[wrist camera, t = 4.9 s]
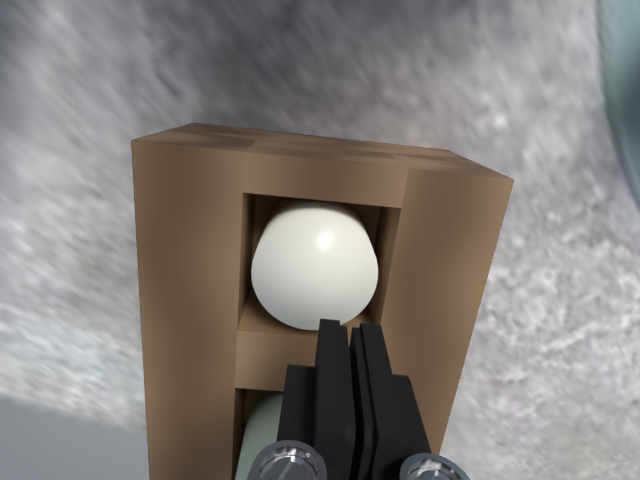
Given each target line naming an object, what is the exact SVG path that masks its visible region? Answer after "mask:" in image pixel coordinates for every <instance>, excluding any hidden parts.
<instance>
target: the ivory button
mask: <svg viewBox="0 0 640 480" xmlns="http://www.w3.org/2000/svg"><path fill="white" fill-rule="evenodd" d="M251 275H252V283H253V287H254V290H255V293H256V295H257V297H258V299H259V301H260V302H261V304H262V305H263V307H264V308H265V309H266V310H267V311H268V312H269V313H270V314H271V315H272V316H274V317H275V318H276V319H278V320H279V321H281V322H283V323H285V324H287V325H290V326H292V327H296V328H300V329H305V330H319V323H320V318H321V319H331V320H340V325H342V324H344V323H346V322H348V321H350V320H351V319H353V318H354V317H356V316H357V315H358V314H359V313H360V312H361V311H362V310H363V309H364V308H365V307H366V306H367V304H368V303H369V301H370V300H371V298H372V296H373V294H374V291H375V289H376V285H377V281H378V265H377V259H376V256H375V253H374V251H373V248H372V245H371V243H370V240H369V237H368V235H367V232H366V229H365V227H364V224H363V221H362V219H361V217H360V215H359V214H358V212H357V211H356V209H355V208H354V207H353V206H352V205H351V204H350V203H344V202H334V201H324V200H314V199H304V198H294V197H287V198H286V199H284V200H283V201H281V202H280V203H279V204H278V205H277V206H276V207H275V208H274V210H273V211H272V212H271V214H270V215H269V217H268V219H267V221H266V224H265V227H264V229H263V232H262V235H261V238H260V241H259V244H258V246H257V249H256V252H255V255H254V258H253V262H252V269H251Z"/></svg>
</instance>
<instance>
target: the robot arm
mask: <svg viewBox="0 0 640 480" xmlns="http://www.w3.org/2000/svg"><path fill="white" fill-rule="evenodd" d="M246 480H470V479H469V477H468V476H467V475H466V473H465V472H464V471H463V470H462V469H461V468H460V467H458V466H457V465H456V464H455V463H453V462H452V461H450V460H448V459H447V458H445V457H442V456H439V455H436V454H432V452H431V449H430V446H429V442H428V439H427V435H426V432H425V429H424V425H423V422H422V418H421V415H420V411H419V408H418V405H417V401H416V398H415V394H414V391H413V388H412V384H411V381H410V379H409V377H408V376H407V375H397V374H392V369H391V365H390V361H389V357H388V352H387V348H386V344H385V340H384V335H383V331H382V327H381V325H380V324H371V323H360V326H359V328H358V327H353V328H352V332H351V338H350V345H349V343H348V331H347V326H340V320H331V319H321V318H320V323H319V331H318V339H317V347H316V356H315V364H314V366H306V365H295V364H288V365H287V372H286V379H285V385H284V392H283V399H282V406H281V413H280V419H279V426H278V433H277V440H276V442H274V443H272V444H270V445H268V446H266V447H265V448H264V449H263V450H261V451H260V452H259V453H258V455H257V456H256V458H255V460H254V461H253V464H252V466H251V469H250V472H249V474H248V477H247V479H246Z"/></svg>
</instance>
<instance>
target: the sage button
mask: <svg viewBox="0 0 640 480" xmlns="http://www.w3.org/2000/svg"><path fill="white" fill-rule="evenodd" d="M283 392H284V391H272V392H269V393H268V394H266V395H264V396H263V397H262V398H260V399H259V400H258V401H257V402H256V403H255V404H254V406H253V407H252V408H251V410H250V412H249V415H248V418H247V423H246V428H245V433H244V438H243V443H242V448H241V453H240V458H239V463H238V468H237V473H236V478H235V480H246V479H247V477H248V474H249V472H250V469H251V466H252V464H253V461H254V460H255V458H256V456H257V455H258V453H259V452H260V451H261V450H263V449H264V448H265V447H266V446H268V445H270V444H272V443H274V442H276V440H277V433H278V426H279V419H280V413H281V406H282V399H283Z"/></svg>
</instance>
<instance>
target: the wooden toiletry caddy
mask: <svg viewBox="0 0 640 480" xmlns="http://www.w3.org/2000/svg"><path fill="white" fill-rule="evenodd" d="M131 147H132V165H133V184H134V202H135V220H136V239H137V257H138V275H139V294H140V312H141V330H142V349H143V367H144V385H145V404H146V422H147V441H148V458H149V477H150V480H235V478H236V473H237V468H238V463H239V458H240V453H241V448H242V443H243V438H244V433H245V428H246V423H247V418H248V415H249V412H250V410H251V408H252V407H253V406H254V404H255V403H256V402H257V401H258V400H259V399H260V398H262V397H263V396H264V395H266V394H268V393H269V392H272V391H284V385H285V379H286V372H287V365H288V364H295V365H306V366H314V364H315V356H316V347H317V339H318V331H319V330H305V329H300V328H296V327H292V326H290V325H287V324H285V323H283V322H281V321H279V320H278V319H276V318H275V317H274V316H272V315H271V314H270V313H269V312H268V311H267V310H266V309H265V308H264V307H263V305H262V304H261V302H260V301H259V299H258V297H257V295H256V293H255V290H254V287H253V283H252V275H251V269H252V262H253V258H254V255H255V252H256V249H257V246H258V244H259V241H260V238H261V235H262V232H263V229H264V227H265V224H266V221H267V219H268V217H269V215H270V214H271V212H272V211H273V210H274V208H275V207H276V206H277V205H278V204H279V203H280V202H281V201H283V200H284V199H286V198H287V197H294V198H304V199H314V200H324V201H334V202H344V203H350V204H351V205H352V206H353V207H354V208H355V209H356V211H357V212H358V214H359V215H360V217H361V219H362V221H363V224H364V227H365V229H366V232H367V235H368V237H369V240H370V243H371V245H372V248H373V251H374V253H375V256H376V259H377V265H378V281H377V285H376V289H375V291H374V294H373V296H372V298H371V300H370V301H369V303H368V304H367V306H366V307H365V308H364V309H363V310H362V311H361V312H360V313H359V314H358V315H357V316H356V317H354V318H353V319H351V320H350V321H348V322H346V323H344V324H342V325H340V326H347V331H348V343H349V345H350V338H351V332H352V328H353V327H358V328H359V326H360V323H371V324H380V325H381V327H382V331H383V335H384V340H385V344H386V348H387V352H388V357H389V361H390V365H391V369H392V374H397V375H407V376H408V377H409V379H410V381H411V384H412V388H413V391H414V394H415V398H416V401H417V405H418V408H419V411H420V415H421V418H422V422H423V425H424V429H425V432H426V435H427V439H428V442H429V446H430V449H431V452H432V454H436V455H439V452H440V449H441V445H442V441H443V438H444V434H445V430H446V427H447V423H448V419H449V416H450V412H451V409H452V405H453V401H454V398H455V394H456V390H457V387H458V383H459V379H460V376H461V372H462V368H463V365H464V361H465V357H466V354H467V350H468V346H469V343H470V339H471V336H472V332H473V328H474V325H475V321H476V317H477V314H478V310H479V306H480V303H481V299H482V295H483V292H484V288H485V284H486V281H487V277H488V274H489V270H490V266H491V263H492V259H493V255H494V252H495V248H496V244H497V241H498V237H499V233H500V230H501V226H502V222H503V219H504V215H505V211H506V208H507V204H508V201H509V197H510V193H511V190H512V186H513V182H514V180H513V179H511V178H509V177H507V176H505V175H502V174H500V173H498V172H496V171H493V170H491V169H489V168H487V167H484V166H482V165H480V164H478V163H475V162H473V161H471V160H469V159H466V158H464V157H462V156H460V155H457V154H455V153H453V152H451V151H448V150H443V149H433V148H424V147H414V146H405V145H396V144H386V143H377V142H367V141H358V140H349V139H339V138H330V137H321V136H311V135H302V134H292V133H283V132H274V131H264V130H255V129H245V128H236V127H227V126H217V125H208V124H199V123H192V124H188V125H184V126H181V127H177V128H173V129H170V130H166V131H163V132H159V133H155V134H152V135H148V136H144V137H141V138H137V139H133V140H131Z"/></svg>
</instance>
